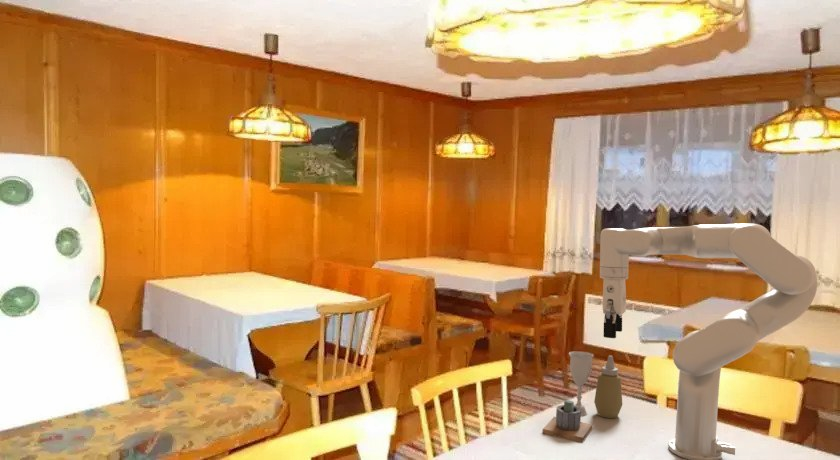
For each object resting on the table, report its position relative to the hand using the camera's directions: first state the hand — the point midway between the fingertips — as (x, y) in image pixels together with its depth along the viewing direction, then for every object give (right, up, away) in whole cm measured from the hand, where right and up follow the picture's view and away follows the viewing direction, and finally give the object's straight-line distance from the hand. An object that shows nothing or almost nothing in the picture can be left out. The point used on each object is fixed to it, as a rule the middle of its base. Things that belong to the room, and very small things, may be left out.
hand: (612, 334), depth 167 cm
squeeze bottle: (+3, -27, +14) cm, 31 cm away
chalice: (-6, -27, +15) cm, 31 cm away
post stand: (-12, -27, +1) cm, 30 cm away
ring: (-12, -26, +1) cm, 29 cm away
